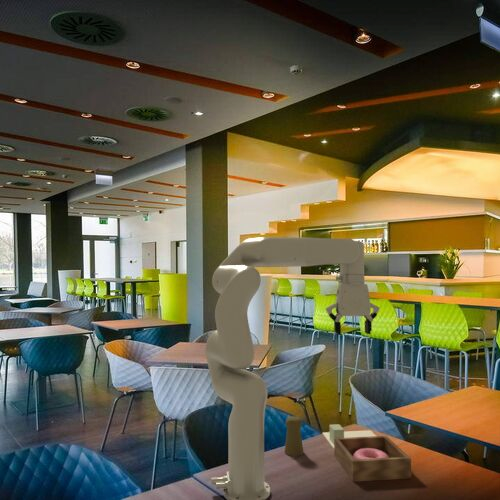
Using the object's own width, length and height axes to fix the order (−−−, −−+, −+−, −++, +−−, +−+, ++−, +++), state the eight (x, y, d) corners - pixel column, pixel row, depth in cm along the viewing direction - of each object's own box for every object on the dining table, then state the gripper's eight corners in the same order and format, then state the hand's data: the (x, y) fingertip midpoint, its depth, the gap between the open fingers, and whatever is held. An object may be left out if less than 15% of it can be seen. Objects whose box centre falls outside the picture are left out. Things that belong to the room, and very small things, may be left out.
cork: (303, 448, 147) (303, 414, 147) (303, 456, 141) (303, 421, 141) (284, 448, 147) (284, 414, 148) (284, 455, 141) (284, 420, 142)
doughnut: (350, 472, 130) (350, 457, 131) (354, 456, 141) (354, 443, 141) (390, 477, 127) (389, 462, 127) (390, 461, 137) (390, 447, 137)
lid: (337, 455, 143) (337, 437, 143) (322, 434, 160) (322, 418, 161) (391, 453, 145) (391, 434, 145) (370, 432, 163) (370, 416, 163)
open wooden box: (353, 481, 124) (352, 461, 124) (334, 456, 141) (334, 438, 141) (411, 478, 126) (411, 458, 126) (386, 453, 143) (385, 435, 143)
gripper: (329, 280, 138) (329, 336, 137) (383, 280, 140) (384, 335, 139) (322, 279, 145) (323, 332, 144) (373, 279, 147) (374, 331, 146)
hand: (352, 334), depth 142 cm, fingers open, 9 cm apart
